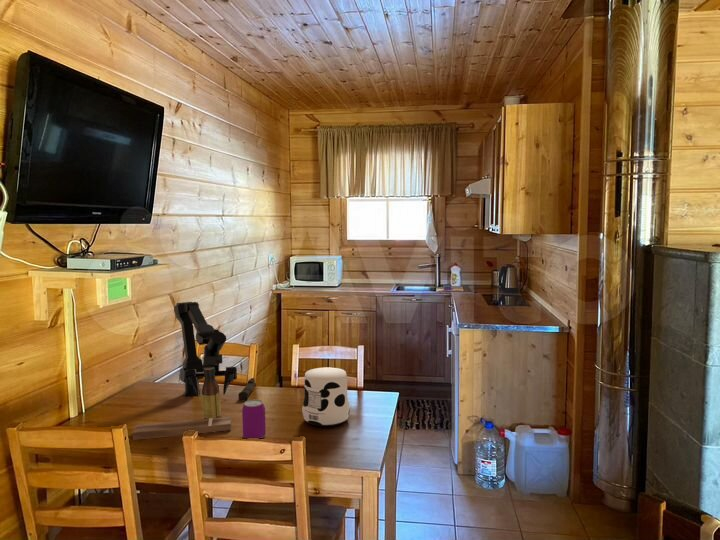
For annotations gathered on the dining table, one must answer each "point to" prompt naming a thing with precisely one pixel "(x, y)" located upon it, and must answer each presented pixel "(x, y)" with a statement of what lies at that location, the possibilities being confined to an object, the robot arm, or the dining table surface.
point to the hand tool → (247, 390)
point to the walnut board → (181, 427)
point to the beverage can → (254, 419)
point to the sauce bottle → (210, 395)
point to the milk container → (325, 397)
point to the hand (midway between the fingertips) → (210, 395)
